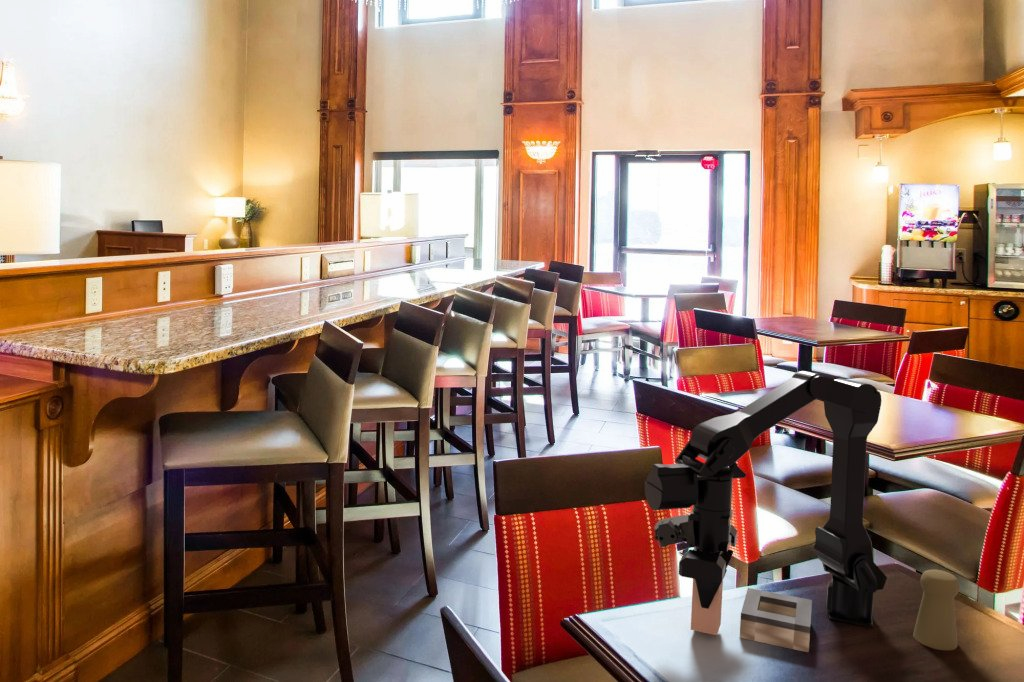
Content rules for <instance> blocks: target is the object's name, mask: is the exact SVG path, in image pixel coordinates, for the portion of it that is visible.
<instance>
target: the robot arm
mask: <svg viewBox="0 0 1024 682" xmlns="http://www.w3.org/2000/svg"><path fill="white" fill-rule="evenodd" d="M815 400H816V401H817V400H818V401H820V402H823V408H824V409H823V410H824V415H825V419H826V420H827V422H828V423H827V424H828V425H829V427H830V428H831V431H832V436H833V438H832V439H833V440H832V460H831V461H832V463H831V482H830V483H831V484H830V485H831V487H830V509H829V518H828V519H827V520H826V522H825V523H824V524H823V526H816V527H815V530H814V536H815V541H814V545H813V550H815V551H816V555H817V558H818V559H819V561H821V563H822V566H823V571H824V572H826V573H829V574H831V575H832V576H831V580H829V581H828V582H827V592H826V607H825V609H826V611H828V618H829V619H830V620H834V621H839V622H844V623H850V624H853V625H854V624H855V625H860V626H864V627H869V628H871V627H873V626H874V622H873V608H874V593H877V591H880V590H883V589H884V588H885V585H886V582H887V579H888V577H887V576H886V574H885V573H884V572H883V571H882V570H881V569H880V568H879V566H878V565H877V564H876V563H875V562H874V553H873V544H872V540H871V537H870V536H869V534H868V531H867V529H866V527H865V525H864V506H865V504H864V503H865V486H866V485H865V483H866V481H865V480H866V463H867V462H866V461H867V460H866V459H867V446H868V445H867V444H868V443H867V442H868V441H867V440H868V437H869V435H870V433H871V432H872V431H873V429H874V428H875V426H876V425H877V423H878V421H879V416H880V411H881V406H882V395H881V392H880V390H879V391H878V389H877V388H876V387H875V386H874V385H873V384H870V383H865V382H861V381H856V380H852V379H847V378H841V377H839V378H836V379H832V378H829V377H825V376H824V375H822V374H820V373H817V372H811V371H808V370H801V371H800V370H799V371H797V372H796V373H794V374H793V375H792V376H791V378H789V379H788V380H786V381H785V382H783V383H781V384H779V385H778V386H776V387H774V389H773V388H772V389H771V390H770V391H768V392H767V393H765V394H764V395H762V396H761V397H758V398H757V399H755V400H754V401H752V402H751V403H749V404H747V405H746V406H745V407H743V408H741V409H740V410H738V411H736V412H733V413H730V414H725V415H719V416H716V417H713V418H711V419H708V420H705V421H704V422H703V421H702V422H700V423H699V424H697V425H696V426H695V427H694V428H693V429H692V431H691V436H690V438H689V440H688V441H687V443H686V444H685V446H684V447H683V449H682V450H681V451H680V453H679V454H678V455H677V457H676V458H675V460H674V462H675V464H673V463H672V464H671V463H670V464H662V463H653V464H652V466H651V467H652V471H651V472H649V473H648V474H647V477H646V481H645V482H644V495H645V500H646V502H647V504H648V506H649V508H650V509H651V510H652V511H664V510H668V511H669V510H677V509H678V510H680V509H689V508H691V507H692V509H691V512H689V513H688V514H682V515H681V514H680V515H677V516H672V517H667V518H662V519H660V520H658V521H657V522H656V524H655V525H654V526H653V529H654V536H653V539H654V540H655V541H657V542H658V545H659V547H660V548H665V547H666V548H667V547H668V546H669V545H675V544H681V543H685V542H686V543H685V544H686V545H685V546H686V547H688V548H689V547H690V548H693V549H689V550H687V551H686V552H684V553H683V554H682V557H681V558H680V560H679V562H678V575H679V576H680V577H684V578H688V579H692V580H693V579H695V581H696V585H697V590H698V595H699V599H700V604H701V607H702V608H706V609H708V608H709V606H710V604H711V602H712V600H713V598H714V596H715V594H716V592H717V590H718V588H719V586H720V584H721V582H722V581H723V582H724V579H725V576H726V574H727V570H728V569H727V568H728V566H729V564H730V561H731V559H732V557H733V554H734V551H733V550H731V549H729V547H730V546H731V547H733V548H734V547H736V544H737V542H738V530H737V529H736V527H735V526H734V525H733V524H731V520H732V518H733V516H734V515H733V512H734V511H733V509H732V502H733V501H732V499H733V484H734V483H733V480H734V479H745V478H747V473H746V472H744V471H743V470H742V469H741V468H740V466H739V465H738V464H737V461H739V459H741V458H742V457H744V455H746V453H747V452H749V450H750V449H751V446H752V445H753V442H754V441H755V440H756V439H757V438H758V437H759V436H760V435H763V433H766V432H767V431H769V430H770V429H771V428H774V426H776V425H778V424H779V423H781V422H782V421H784V420H785V419H788V418H789V417H790V416H791V415H793V414H795V413H796V412H798V411H800V410H801V409H803V408H805V407H806V406H807V405H809V404H811V403H812V402H814V401H815ZM697 458H701V459H703V460H705V461H704V462H703V461H701V460H698V459H697Z"/></svg>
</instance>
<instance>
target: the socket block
mask: <svg viewBox="0 0 1024 682" xmlns="http://www.w3.org/2000/svg"><path fill="white" fill-rule="evenodd" d="M812 605H813V600H812V599H809V598H802V597H799V596H792V595H787V594H783V593H777V592H772V591H766V590H762V589H761V590H760V589H756V588H750V587H747V590H746V594H745V596H744V601H743V604H742V608H741V611H740V622H739V623H740V625H739V638H740V639H745V640H748V641H749V640H750V641H753V642H754V641H755V642H759V643H762V644H767V645H772V646H776V647H781V648H787V649H791V650H795V651H799V652H804V653H805V652H806V653H809V651H810V641H811V639H810V638H811V637H810V636H811V625H812V624H811V621H812V609H813V606H812Z"/></svg>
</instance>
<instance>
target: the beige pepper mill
mask: <svg viewBox="0 0 1024 682" xmlns="http://www.w3.org/2000/svg"><path fill="white" fill-rule="evenodd" d="M920 586H921V588H922V590H923V594H922V596H921V597H922V598H921V601H920V605H919V609H918V614H917V617H916V621H915V625H914V630H913V634H912V635H913V636H912V637H913V638H914V640H916V641H917V643H919V644H921V645H924V646H926V647H928V648H931V649H933V650H938V651H939V650H940V651H954V650H956V649H957V647H958V646H959V645H958V635H957V634H958V633H957V620H956V617H957V616H956V605H955V604H956V603H955V597H956V596H957V595H958V593H959V591H960V582H959V580H958V579H957V577H956V576H955V575H954V574H952V573H950V572H948V571H946V570H945V571H944V570H940V569H927V570H925V571H924V572H922V574H921V577H920Z"/></svg>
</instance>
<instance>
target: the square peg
mask: <svg viewBox="0 0 1024 682" xmlns="http://www.w3.org/2000/svg"><path fill="white" fill-rule="evenodd" d="M723 585H724V580H723V581H722V582H721V584H720V586H719V588H718V590H717V592H716V594H715V596H714V598H713V600H712V602H711V604H710V606H709V608H708V609H706V608H702V607H701V604H700V599H699V595H698V590H697V585H696V581H695V579H693V578H692V594H691V613H690V614H691V615H690V630H691V631H696V632H699V633H704V634H709V635H714V636H718V633H719V630H720V627H721V624H722V604H723V587H724V586H723Z"/></svg>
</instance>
